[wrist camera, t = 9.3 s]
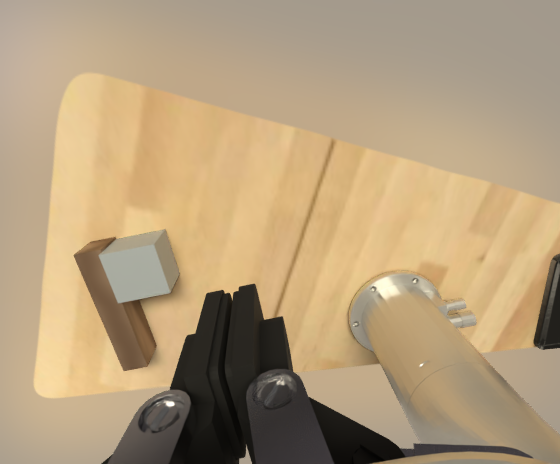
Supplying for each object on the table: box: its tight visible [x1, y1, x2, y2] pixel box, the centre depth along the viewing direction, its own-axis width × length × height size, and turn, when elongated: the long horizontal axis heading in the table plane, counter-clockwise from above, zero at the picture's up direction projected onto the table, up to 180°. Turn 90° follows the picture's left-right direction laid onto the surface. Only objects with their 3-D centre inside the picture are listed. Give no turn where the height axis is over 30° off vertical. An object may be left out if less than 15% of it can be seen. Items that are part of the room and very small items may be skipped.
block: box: [99, 229, 180, 303], centre depth 39 cm, size 6×6×5 cm
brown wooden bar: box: [74, 237, 156, 371], centre depth 41 cm, size 3×16×4 cm, turn 11°
